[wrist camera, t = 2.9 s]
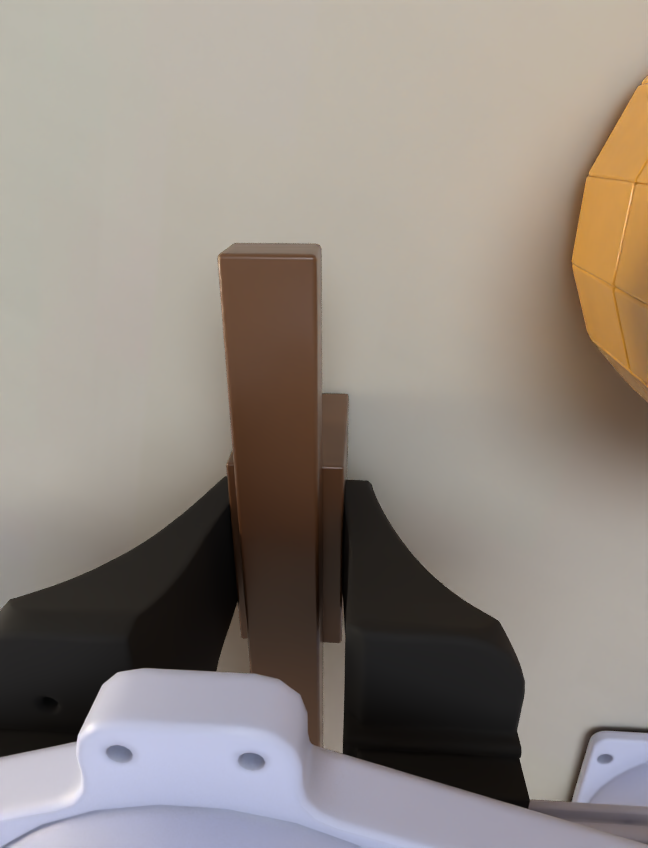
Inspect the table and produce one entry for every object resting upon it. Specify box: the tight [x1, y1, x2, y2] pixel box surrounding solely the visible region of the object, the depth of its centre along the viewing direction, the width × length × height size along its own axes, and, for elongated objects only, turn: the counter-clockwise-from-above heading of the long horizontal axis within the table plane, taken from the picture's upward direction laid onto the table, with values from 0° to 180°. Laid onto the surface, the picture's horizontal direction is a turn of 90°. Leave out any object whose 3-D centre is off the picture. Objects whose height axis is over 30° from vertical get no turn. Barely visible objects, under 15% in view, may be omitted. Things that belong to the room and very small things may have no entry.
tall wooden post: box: [218, 243, 349, 748], centre depth 15 cm, size 14×2×5 cm, turn 0°
